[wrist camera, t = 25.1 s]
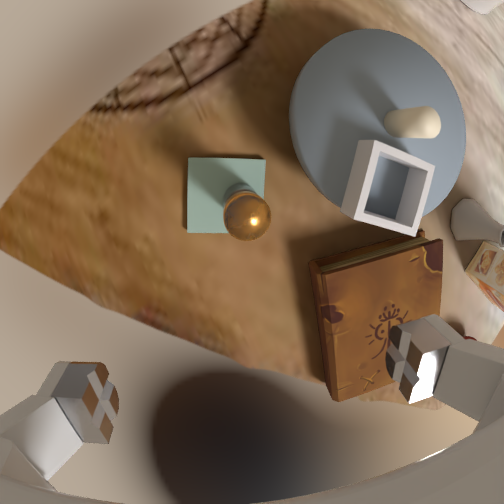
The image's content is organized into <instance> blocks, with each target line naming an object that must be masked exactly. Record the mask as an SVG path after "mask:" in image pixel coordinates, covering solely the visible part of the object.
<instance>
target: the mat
mask: <svg viewBox="0 0 504 504" xmlns="http://www.w3.org/2000/svg"><path fill="white" fill-rule="evenodd" d="M265 162H266V160H261V159H238V158H188V198H187V233H229V232H228V231H227V229H226V227H225V225H224V220H223V210H224V205H223V196H224V193H225V191H226V190H227V189H228V188H229V187H230V186H231V185H233V184H237V183H244V184H247V185H249V186H250V187H252V188H253V189H254V191H255V192H256V193H257V194H258V195H259V196H260V197H262V199H263V198H264V180H265Z"/></svg>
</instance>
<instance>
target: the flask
mask: <svg viewBox="0 0 504 504" xmlns="http://www.w3.org/2000/svg"><path fill="white" fill-rule="evenodd" d="M451 230H452V232H453V234H454V237H455V239H456V240H480V239H485V240H490V241H494V242H496V243H498V244H499V246H500V247H504V225H502V224H500V223H498V222H497V221H495V220H494V219H493V218H492V217H491V216H490V215H489V214H488V213H487V212H486V211H485V210H484V209H483V208H482V207H481V206H480V205H479V204H478V203H477V202H476V201H475V200H474V199H462V200H461V201H460V202H459V203H458V204H457V205H456V206H455V207H454V208H453V209H452V217H451Z"/></svg>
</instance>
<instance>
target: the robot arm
mask: <svg viewBox="0 0 504 504" xmlns="http://www.w3.org/2000/svg"><path fill="white" fill-rule="evenodd" d="M461 1H462V2H463V3H464V4H465V5H467V6H468V7H469V8H471V9H472V10H474V11H476V12H478V13H480V14H488V13H490V12H491V11H492V10H493V9H494V8H496V7H497V6H499V5H500V4H502V3H504V0H461ZM389 339H390V341H391V342H392V344H391V345H390V346H389V348H388V349H387V350H386V357H385V362H386V369H387V371H388V374H389V375H390V377H391V378H392V380H394V381H397V382H399V383H400V386H399V390H400V392H401V393H402V395H403V396H404V397H405V399H406V400H407V402H408V403H412V402H415V401H418V400H421V399H424V398H427V397H430V396H432V395H433V397H434V398H436V399H438V400H439V401H441V402H443V403H445V404H447V405H449V406H451V407H453V408H454V409H456V410H458V411H460V412H462V413H464V414H465V415H467V416H469V417H471V418H473V419H475V420H477V421H479V423H478V425H477V426H476V428H475V430H474V431H473V434H471V435H470V436H468V437H466V438H464V439H462V440H460V441H459V442H457V443H455V444H453V445H451V446H449V447H447V448H445V449H443V450H441V451H438V452H436V453H434V454H432V455H430V456H428V457H426V458H423V459H421V460H418V461H416V462H414V463H411V464H409V465H406V466H404V467H401V468H399V469H396V470H394V471H391V472H388V473H385V474H382V475H380V476H376V477H373V478H370V479H367V480H364V481H361V482H358V483H354V484H351V485H347V486H343V487H340V488H336V489H332V490H328V491H324V492H319V493H315V494H311V495H305V496H301V497H295V498H289V499H283V500H277V501H270V502H263V503H255V504H504V349H502V348H499V347H496V346H493V345H489V344H486V343H482V342H479V341H476V340H472V339H467V340H465V339H464V338H463V337H462V336H461V335H460V334H459V333H457V332H456V331H455V330H454V329H453V328H452V327H451V326H450V325H448V324H447V323H446V322H445V321H444V320H443V319H442V318H440V317H439V316H438V315H435V314H432V315H429V316H425V317H422V318H420V319H417V320H413V321H410V322H406V323H402V324H398V325H394V326H392V327H391V329H390V332H389ZM108 375H109V373H108V370H107V368H106V366H105V365H104V364H103V363H101V362H64V361H60V362H57V363H55V365H54V366H53V368H52V369H51V371H50V373H49V374H48V376H47V378H46V379H45V381H44V383H43V384H42V386H41V388H40V389H39V391H38V393H37V394H36V395H31V396H30V397H28V398H27V399H25V400H24V401H22V402H20V403H19V404H17V405H16V406H14V407H13V408H11V409H9V410H8V411H6V412H5V413H4V414H2V415H0V504H123V503H114V502H108V501H101V500H95V499H90V498H84V497H79V496H74V495H70V494H65V493H61V492H58V491H57V490H56V489H55V488H54V487H53V486H52V485H51V484H50V483H49V482H48V480H49V479H50V478H51V477H52V476H53V475H54V473H55V472H56V471H57V470H58V469H59V468H60V467H61V466H62V465H63V464H64V463H65V462H66V461H67V460H68V459H69V458H70V457H71V456H72V455H73V454H74V453H75V452H76V451H77V450H78V449H79V448H80V447H81V446H82V445H83V442H88V443H100V444H109V441H110V438H111V434H112V431H113V425H112V423H111V420H112V419H114V418H115V417H116V416H117V413H118V409H119V398H118V394H117V391H116V388H115V386H114V385H113V384H112V383H110V382H109V381H108V380H107V378H108Z"/></svg>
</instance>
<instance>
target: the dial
mask: <svg viewBox="0 0 504 504" xmlns="http://www.w3.org/2000/svg"><path fill="white" fill-rule="evenodd" d="M289 125H290V134H291V138H292V143H293V147H294V149H295V152H296V155H297V158H298V160H299V162H300V164H301V166H302V168H303V170H304V172H305V173H306V175H307V176H308V178H309V179H310V181H311V182H312V183H313V185H314V186H315V187H316V188H317V189H318V190H319V192H321V193H322V194H323V195H324V196H325V197H326V198H327V199H328V200H330V201H331V202H332V203H334V204H335V205H337V206H338V207H340V208H341V209H340V212H342V213H343V214H345V215H347V216H349V217H350V218H352V219H354V220H358V221H362V222H365V223H369V224H373V225H376V226H380V227H383V228H387V229H390V230H394V231H397V232H400V233H404V234H407V235H411V236H414V237H415V236H416V233H417V230H418V227H419V224H420V220H421V217H423V216H425V215H426V214H428V213H429V212H431V211H432V210H433V209H435V208H436V207H437V206H438V205H439V204H440V203H441V202H442V201H443V200H444V199H445V198H446V196H447V195H448V194H449V192H450V191H451V189H452V188H453V186H454V184H455V182H456V180H457V178H458V176H459V173H460V170H461V167H462V164H463V160H464V154H465V147H466V127H465V120H464V114H463V110H462V106H461V102H460V100H459V97H458V94H457V92H456V90H455V88H454V86H453V84H452V82H451V80H450V78H449V77H448V75H447V74H446V72H445V70H444V69H443V68H442V67H441V65H440V64H439V63H438V62H437V61H436V60H435V59H434V58H433V57H432V56H431V55H430V54H429V53H428V52H427V51H426V50H425V49H423V48H422V47H421V46H420V45H418V44H416V43H415V42H413V41H412V40H410V39H408V38H406V37H404V36H402V35H399V34H396V33H393V32H390V31H385V30H380V29H360V30H354V31H350V32H347V33H344V34H342V35H340V36H337V37H335V38H334V39H332V40H331V41H329V42H328V43H326V44H325V45H324V46H323V47H322V48H320V49H319V50H318V51H317V52H316V53H315V54H314V55H313V56H312V57H311V58H310V59H309V60H308V61H307V62H306V64H305V65H304V67H303V68H302V69H301V71H300V73H299V75H298V77H297V79H296V81H295V84H294V87H293V90H292V94H291V99H290V105H289Z"/></svg>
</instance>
